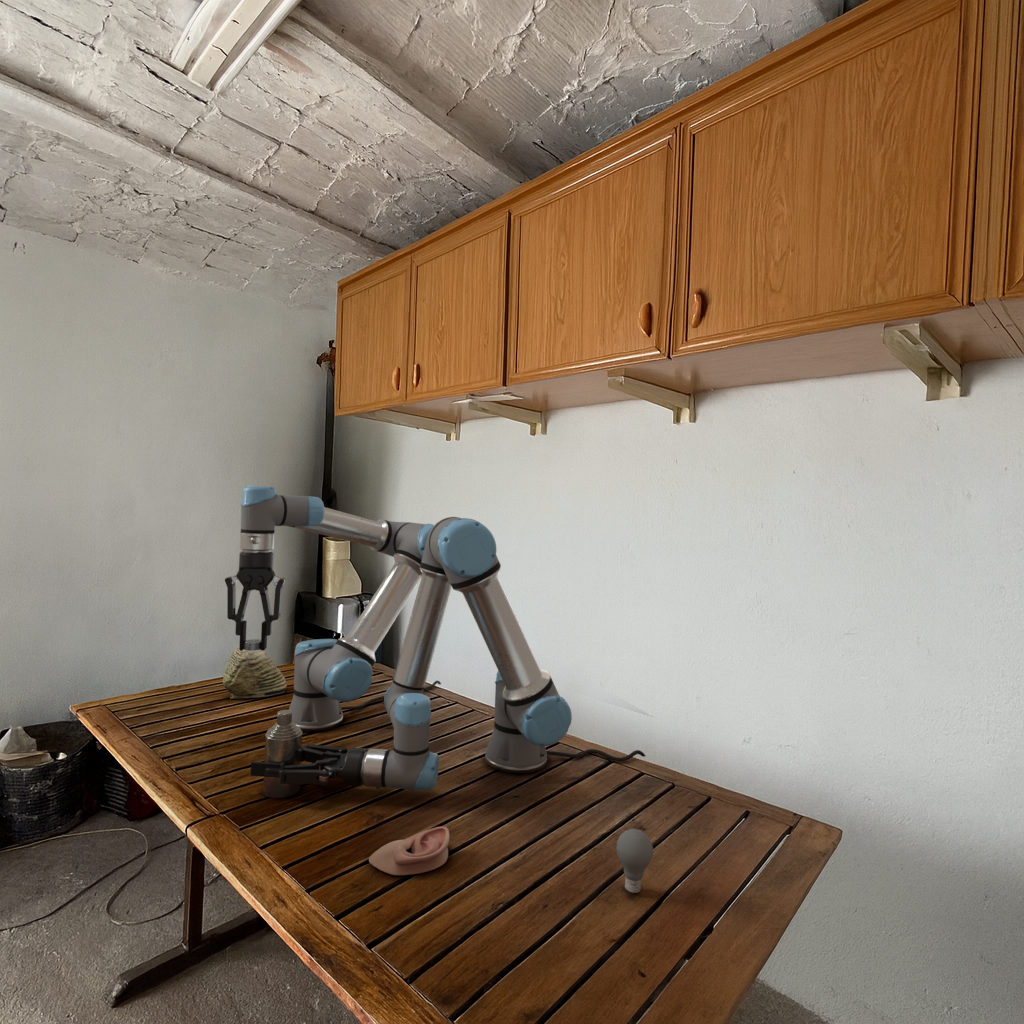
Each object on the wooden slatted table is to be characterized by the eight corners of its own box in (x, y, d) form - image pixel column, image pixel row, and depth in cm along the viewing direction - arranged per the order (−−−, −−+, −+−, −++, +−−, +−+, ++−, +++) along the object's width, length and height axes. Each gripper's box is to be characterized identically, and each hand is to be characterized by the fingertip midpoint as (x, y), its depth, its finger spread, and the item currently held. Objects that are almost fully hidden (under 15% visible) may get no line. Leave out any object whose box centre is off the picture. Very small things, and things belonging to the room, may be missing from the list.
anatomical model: (361, 846, 108) (388, 814, 119) (360, 870, 108) (387, 835, 119) (436, 859, 105) (456, 825, 117) (435, 882, 105) (455, 846, 117)
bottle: (289, 779, 141) (292, 703, 141) (306, 790, 136) (309, 712, 136) (256, 789, 136) (259, 711, 135) (273, 801, 131) (276, 720, 130)
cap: (241, 647, 151) (241, 640, 151) (259, 645, 153) (260, 638, 153) (246, 651, 148) (246, 644, 147) (265, 649, 150) (265, 642, 150)
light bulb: (610, 879, 108) (613, 822, 108) (644, 879, 109) (647, 822, 109) (619, 902, 102) (622, 840, 102) (655, 901, 103) (658, 840, 103)
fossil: (218, 695, 195) (220, 647, 195) (278, 685, 208) (279, 640, 207) (228, 703, 189) (230, 653, 188) (289, 692, 201) (290, 645, 201)
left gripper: (213, 551, 145) (209, 652, 145) (291, 553, 148) (287, 653, 148) (223, 548, 152) (219, 645, 153) (297, 550, 155) (293, 645, 156)
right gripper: (350, 807, 125) (237, 800, 126) (377, 764, 145) (279, 758, 146) (351, 770, 125) (238, 762, 126) (378, 732, 145) (280, 726, 146)
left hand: (253, 648), depth 150 cm, fingers closed on cap, 4 cm apart
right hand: (260, 760), depth 136 cm, fingers closed on bottle, 7 cm apart
